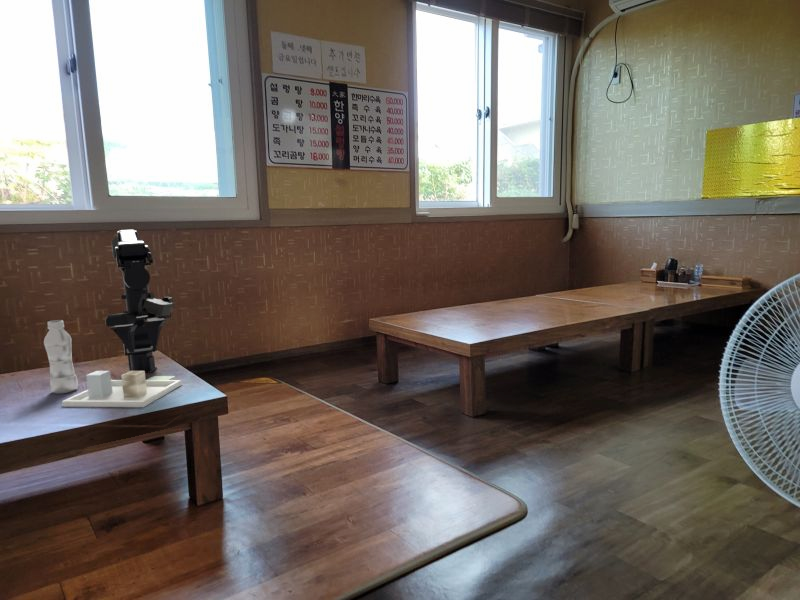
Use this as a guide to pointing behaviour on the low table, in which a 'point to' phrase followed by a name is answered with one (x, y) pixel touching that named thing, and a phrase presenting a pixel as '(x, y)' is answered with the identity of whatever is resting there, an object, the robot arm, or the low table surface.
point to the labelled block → (134, 384)
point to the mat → (161, 378)
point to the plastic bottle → (60, 358)
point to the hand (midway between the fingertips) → (143, 349)
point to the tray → (117, 397)
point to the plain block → (99, 383)
